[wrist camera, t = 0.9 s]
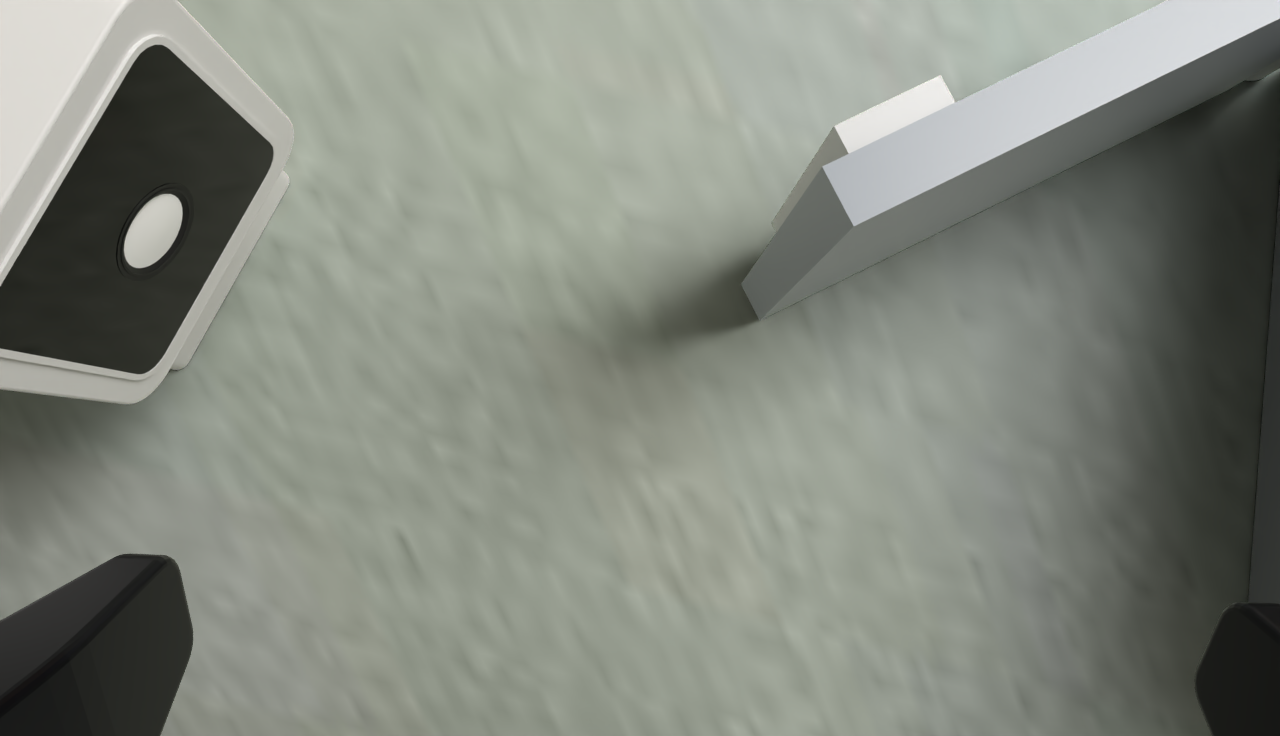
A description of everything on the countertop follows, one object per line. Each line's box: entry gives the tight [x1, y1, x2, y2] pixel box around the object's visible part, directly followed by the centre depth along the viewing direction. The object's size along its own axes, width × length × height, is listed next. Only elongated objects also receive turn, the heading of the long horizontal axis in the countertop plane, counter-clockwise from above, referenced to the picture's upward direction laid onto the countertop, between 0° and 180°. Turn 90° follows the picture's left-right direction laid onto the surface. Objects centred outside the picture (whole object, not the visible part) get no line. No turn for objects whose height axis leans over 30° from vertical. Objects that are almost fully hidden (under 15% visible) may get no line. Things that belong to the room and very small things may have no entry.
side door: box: [741, 0, 1280, 320], centre depth 18 cm, size 13×2×9 cm, turn 116°
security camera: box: [0, 0, 294, 405], centre depth 17 cm, size 6×7×10 cm
